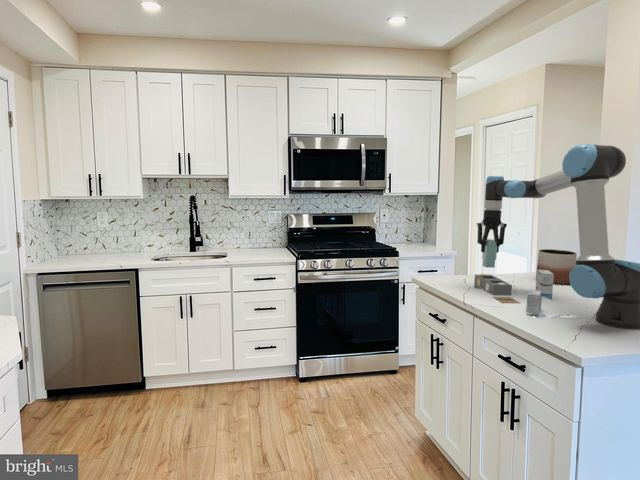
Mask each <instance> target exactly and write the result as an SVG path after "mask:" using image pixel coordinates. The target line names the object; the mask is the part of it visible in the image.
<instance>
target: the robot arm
mask: <svg viewBox="0 0 640 480" xmlns="http://www.w3.org/2000/svg"><path fill="white" fill-rule="evenodd" d="M563 157H564V158H563V160H562V167H561V168H562V169H561V170H559V171H556V172H554V173H551V174H547V175H545V176H541V177H539V178H537V179H534V180H517V179H513V180H512V179H511V180H509V179H508V180H505V177H504V176H503V175H489V176H487V177H486V180H485V181H486V182H485V191H484V194H485V195H484V210H483V219H482V221H481V222H477V223H476V226H477V240H476V242H477V244H478V245H481V246H480V247H481V248H480V252H481V253H482V259H484V260H486V254H487V246H486V241H487V239H488V237H489V233H490V232H491V230H492V233H493V240H494V241H495V242H496V255H495V261H496V260H497V254H498V253H499V252H500V251H499V249H500V246H501V245H504V241H505V232H506V227H507V226H508V224H507V223H505V222H502V220H501V218H502V208H503V198H507V199H509V198H510V199H519V198H520V199H524V198H526V199H528V198H529V199H540V198H544V197H546V196H547V195H548V194H551V193H555V192H557V191H561V190H564V189H568V188H570V187H574V188H575V189H576V190H575V195H576V208H577V224H578V237H579V238H578V239H579V256H578V257H576V267H574V268H573V269H572V271H571V272H570V275H569V281H570V284H569V285H570V286H571V289H573V291H574V292H576V294H577V295H579V296H580V297H582V298H586V299H601V298H602V301H601V303H600V305H599V307H598V309H597V311H596V313H595V321H596V322H598V323H601V324H603V325H606V326H610V327H614V328H619V329H627V330H629V329H630V330H640V262H634V261H629V260H622V259H615V257H613V256H612V255H610V253H609V251H610V250H609V238H608V237H609V236H608V223H607V208H606V191H605V185H606V184H607V183H609V181H610V179H611V178H614V177H617V176H618V175H620V174H621V173H622V172H623V171H624V169H625V167H626V164H627V159H626V155H625V153H624V152H623V150H622V149H620V148H619V147H616V146H613V145H602V144H592V143H586V144H585V143H584V144H577V145H574V146H573V147H571V148H570V149H569V150H568V151H567V153H565V155H564V156H563ZM499 226H500V228H499ZM483 227H484V230H483Z"/></svg>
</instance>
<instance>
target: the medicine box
mask: <svg viewBox="0 0 640 480" xmlns="http://www.w3.org/2000/svg"><path fill="white" fill-rule="evenodd" d="M542 298H543V296H542V291H536V289H535V290H534V289H533V290H532V289H530V290H529V291H528V293H527V295H526V308H525V312H526V314H525V316H527V315H529V316H528V317H533V316H535V317H534V318H539V317H540V313H541V310H542V301H543V299H542ZM530 313H531V314H530Z"/></svg>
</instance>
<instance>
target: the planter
mask: <svg viewBox="0 0 640 480" xmlns="http://www.w3.org/2000/svg"><path fill="white" fill-rule="evenodd" d="M577 258H578V257H577V252H576V251H575V252H574V251H571V250H570V251H569V250H563V249H550V248H549V249H545V248H544V249H538V253H537V263H536V273H535V274H536V275H535V277H536V279H537V270H548V271H550V272H551V273H553V274H554V279H553V285H559V284H564V285H565V284H567V285H571V284H570V281H569V275H570V272H571V271H572V269H573V268H574V267H576V259H577Z"/></svg>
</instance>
